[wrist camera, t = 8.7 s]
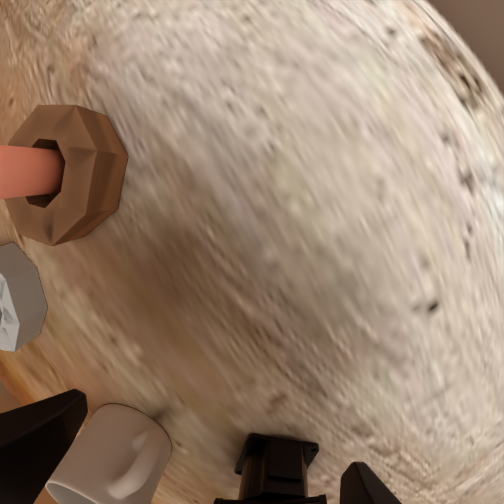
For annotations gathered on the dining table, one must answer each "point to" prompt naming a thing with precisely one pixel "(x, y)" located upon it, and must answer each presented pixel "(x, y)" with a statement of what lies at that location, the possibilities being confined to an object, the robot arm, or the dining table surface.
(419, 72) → the dining table surface
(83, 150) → the walnut bead
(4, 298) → the slate bead
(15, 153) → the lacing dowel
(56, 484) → the mug
